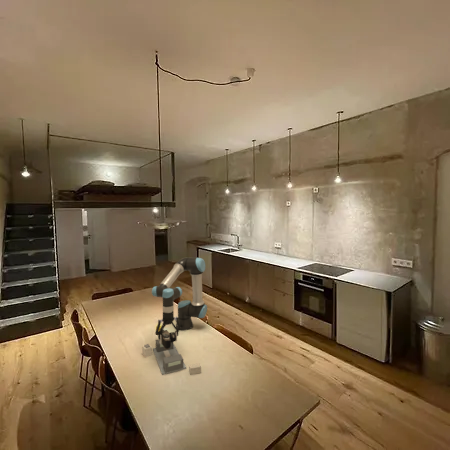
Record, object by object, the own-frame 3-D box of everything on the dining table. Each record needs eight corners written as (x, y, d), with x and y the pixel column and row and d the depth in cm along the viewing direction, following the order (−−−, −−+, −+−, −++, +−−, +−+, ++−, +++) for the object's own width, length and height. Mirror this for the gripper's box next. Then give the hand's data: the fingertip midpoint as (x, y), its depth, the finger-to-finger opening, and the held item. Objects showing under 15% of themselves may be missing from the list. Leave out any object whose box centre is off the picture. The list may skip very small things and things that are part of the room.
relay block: (148, 351, 197) (148, 342, 196) (152, 355, 192) (152, 346, 192) (142, 354, 194) (142, 345, 193) (145, 357, 189) (145, 348, 189)
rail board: (173, 345, 206) (173, 336, 206) (186, 368, 175) (186, 358, 175) (152, 349, 199) (152, 340, 199) (162, 375, 168) (162, 364, 168)
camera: (179, 346, 182) (179, 332, 182) (164, 350, 177) (164, 336, 177) (171, 337, 196) (171, 324, 195) (157, 340, 191) (157, 327, 190)
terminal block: (199, 369, 175) (199, 363, 174) (200, 373, 171) (200, 366, 171) (189, 371, 172) (189, 365, 172) (190, 375, 169) (190, 368, 168)
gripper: (182, 307, 194) (182, 336, 195) (150, 311, 184) (150, 342, 185) (185, 310, 187) (185, 341, 188) (152, 315, 178) (152, 347, 179)
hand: (168, 342), depth 187 cm, fingers closed on camera, 10 cm apart
